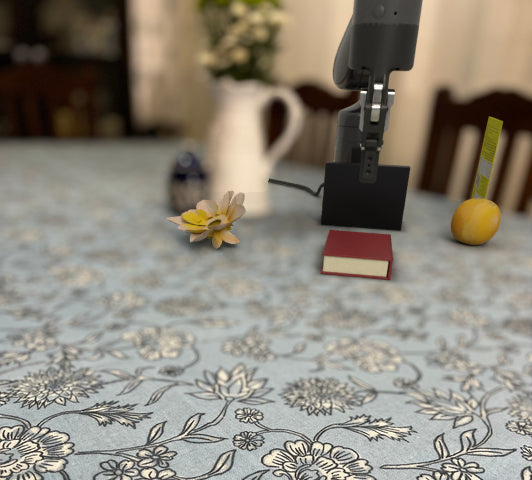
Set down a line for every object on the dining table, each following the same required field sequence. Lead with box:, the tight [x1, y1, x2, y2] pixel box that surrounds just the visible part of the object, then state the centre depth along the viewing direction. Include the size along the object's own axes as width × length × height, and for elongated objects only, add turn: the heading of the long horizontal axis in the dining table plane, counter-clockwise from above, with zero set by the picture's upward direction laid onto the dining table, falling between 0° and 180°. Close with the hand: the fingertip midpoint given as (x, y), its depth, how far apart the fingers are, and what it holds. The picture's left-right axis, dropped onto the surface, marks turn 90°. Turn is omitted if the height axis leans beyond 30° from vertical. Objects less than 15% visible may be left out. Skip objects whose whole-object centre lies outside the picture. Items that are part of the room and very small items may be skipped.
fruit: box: [450, 198, 502, 246], centre depth 95 cm, size 9×8×8 cm
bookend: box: [320, 160, 411, 232], centre depth 104 cm, size 7×16×12 cm, turn 80°
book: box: [320, 229, 394, 281], centre depth 84 cm, size 14×10×3 cm
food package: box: [470, 116, 504, 199], centre depth 109 cm, size 15×1×20 cm, turn 168°
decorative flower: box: [165, 190, 247, 250], centre depth 91 cm, size 15×11×10 cm
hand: (367, 181), depth 67 cm, fingers closed
